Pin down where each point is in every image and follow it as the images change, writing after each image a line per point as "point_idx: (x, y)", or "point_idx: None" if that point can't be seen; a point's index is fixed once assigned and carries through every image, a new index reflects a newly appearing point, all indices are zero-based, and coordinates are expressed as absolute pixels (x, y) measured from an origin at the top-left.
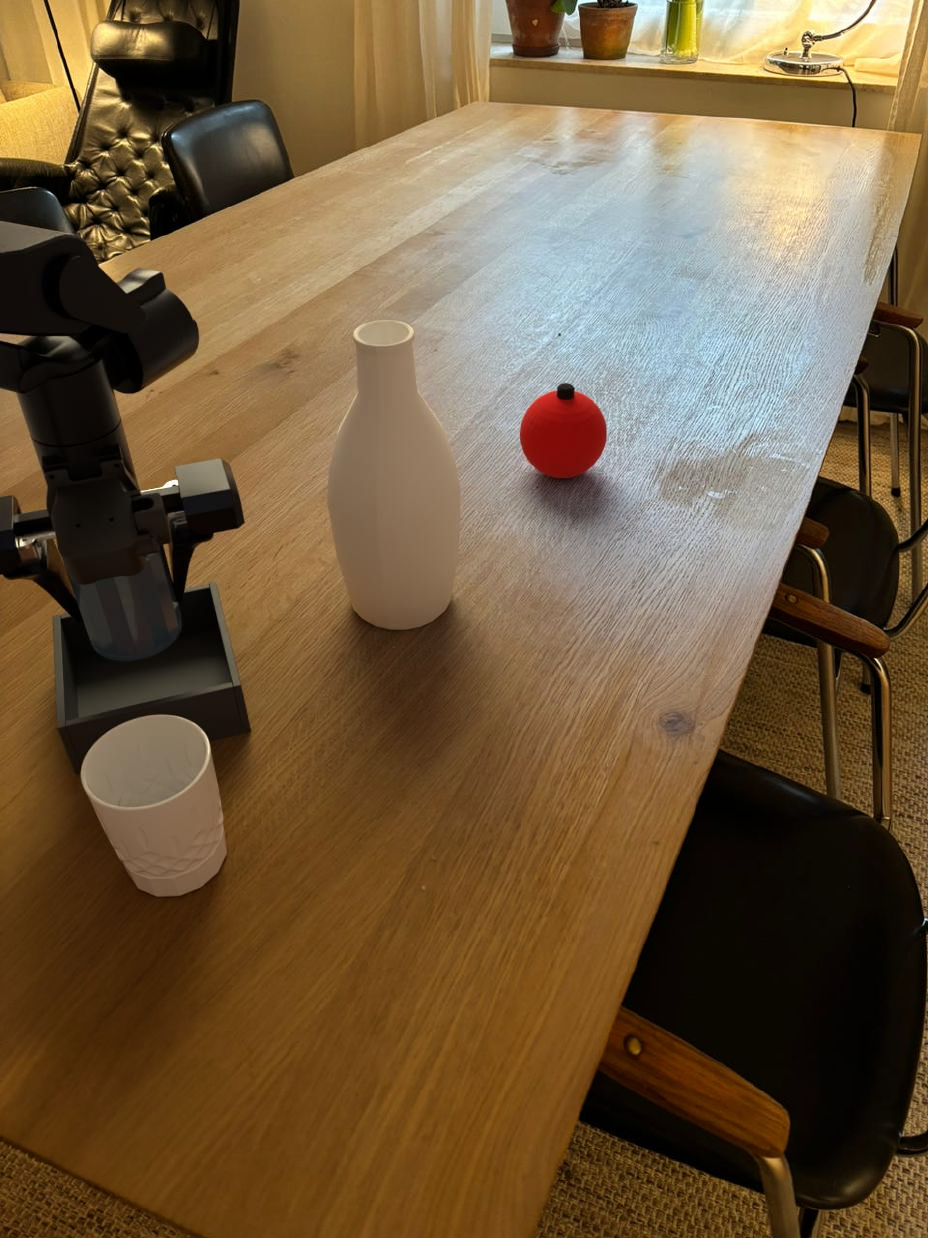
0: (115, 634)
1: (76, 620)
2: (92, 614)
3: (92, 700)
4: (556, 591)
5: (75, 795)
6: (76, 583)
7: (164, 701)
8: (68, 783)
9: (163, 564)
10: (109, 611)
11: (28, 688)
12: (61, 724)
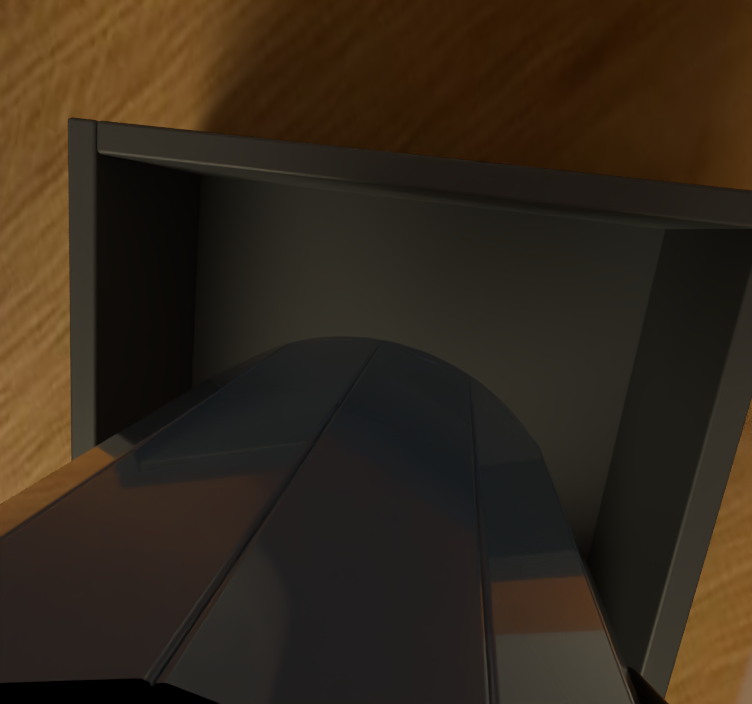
0: (448, 422)
1: (645, 683)
2: (584, 604)
3: (565, 465)
4: None
5: (712, 121)
6: None
7: (354, 155)
8: (716, 182)
9: None
10: (430, 525)
11: (712, 607)
12: None
